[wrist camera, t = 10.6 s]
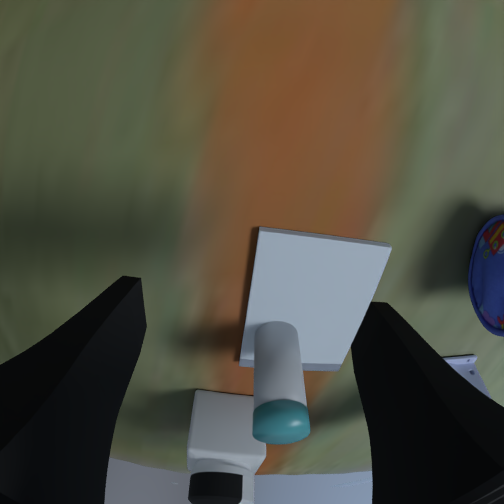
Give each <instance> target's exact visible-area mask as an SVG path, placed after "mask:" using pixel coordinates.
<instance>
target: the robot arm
mask: <svg viewBox="0 0 504 504" xmlns="http://www.w3.org/2000/svg"><path fill="white" fill-rule="evenodd" d="M146 327H147V324H146V317H145V309H144V301H143V292H142V283H141V278H137V277H129V276H122V277H120V278H119V279H118V280H117V281H115V282H114V283H113V284H112V285H111V286H109V287H108V288H107V289H106V290H105V291H103V292H102V293H101V294H100V295H99V296H97V297H96V298H95V299H94V300H93V301H91V302H90V303H89V304H88V305H87V306H85V307H84V308H83V309H82V310H81V311H79V312H78V313H77V314H76V315H74V316H73V317H72V318H70V319H69V320H68V321H67V322H65V323H64V324H63V325H61V326H60V327H59V328H58V329H56V330H55V331H54V332H52V333H51V334H50V335H48V336H47V337H45V338H44V339H42V340H41V341H40V342H38V343H36V344H35V345H33V346H32V347H30V348H29V349H27V350H26V351H24V352H22V353H21V354H19V355H17V356H15V357H14V358H12V359H10V360H8V361H6V362H5V363H3V364H1V365H0V504H104V500H105V487H106V477H107V468H108V461H109V455H110V449H111V443H112V438H113V433H114V429H115V424H116V420H117V416H118V413H119V409H120V407H121V404H122V401H123V398H124V395H125V393H126V390H127V387H128V384H129V382H130V379H131V376H132V374H133V371H134V368H135V366H136V363H137V360H138V358H139V355H140V352H141V348H142V344H143V340H144V336H145V332H146ZM351 351H352V360H353V367H354V373H355V377H356V382H357V385H358V389H359V394H360V397H361V401H362V405H363V409H364V413H365V418H366V422H367V426H368V431H369V437H370V446H371V457H372V477H373V495H372V504H504V407H503V406H501V405H499V404H498V403H496V402H495V401H494V400H492V399H491V396H490V394H489V392H488V390H487V388H486V386H485V384H484V382H483V380H482V378H481V376H480V374H479V372H478V370H477V368H476V366H475V364H474V362H475V361H476V359H477V356H476V355H469V356H459V357H448V358H442V357H441V356H440V355H439V354H438V353H437V352H436V351H435V350H434V349H433V348H432V347H431V346H430V345H429V344H428V343H427V342H426V341H425V340H424V339H423V338H422V337H421V336H420V335H419V334H418V333H417V332H416V331H415V330H414V329H413V328H412V327H411V326H410V325H409V324H408V322H407V321H406V320H405V319H404V318H403V317H402V316H401V315H400V314H399V313H398V312H397V311H396V310H394V309H393V308H392V307H391V306H390V305H389V304H388V303H385V302H370V304H369V307H368V309H367V311H366V313H365V316H364V318H363V320H362V322H361V325H360V327H359V329H358V331H357V333H356V335H355V337H354V340H353V342H352V344H351Z"/></svg>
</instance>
